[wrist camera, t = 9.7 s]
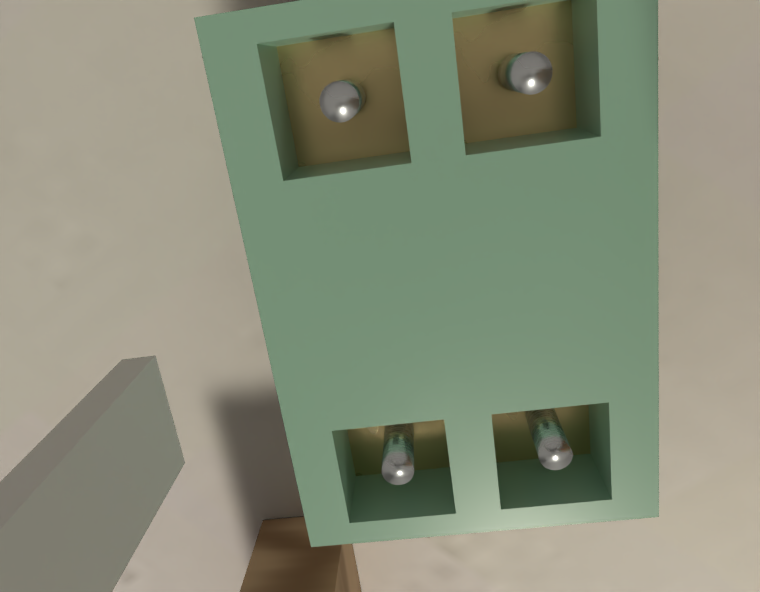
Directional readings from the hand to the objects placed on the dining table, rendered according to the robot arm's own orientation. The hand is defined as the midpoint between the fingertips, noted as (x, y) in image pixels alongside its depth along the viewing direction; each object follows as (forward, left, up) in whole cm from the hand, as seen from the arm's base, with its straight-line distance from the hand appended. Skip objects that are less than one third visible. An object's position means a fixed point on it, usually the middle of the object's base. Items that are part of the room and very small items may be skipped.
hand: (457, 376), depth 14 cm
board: (0, 0, -7) cm, 7 cm away
